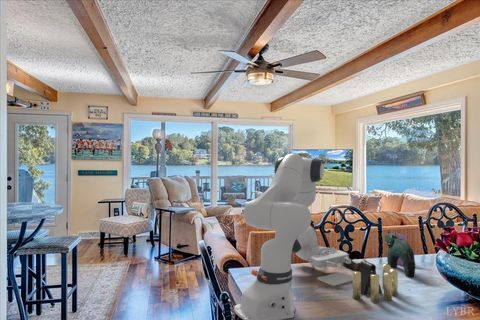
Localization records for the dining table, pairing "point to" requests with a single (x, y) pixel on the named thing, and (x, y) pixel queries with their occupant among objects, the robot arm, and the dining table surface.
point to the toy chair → (404, 239)
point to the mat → (336, 278)
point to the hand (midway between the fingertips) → (343, 263)
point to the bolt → (353, 265)
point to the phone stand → (367, 277)
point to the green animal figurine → (400, 253)
